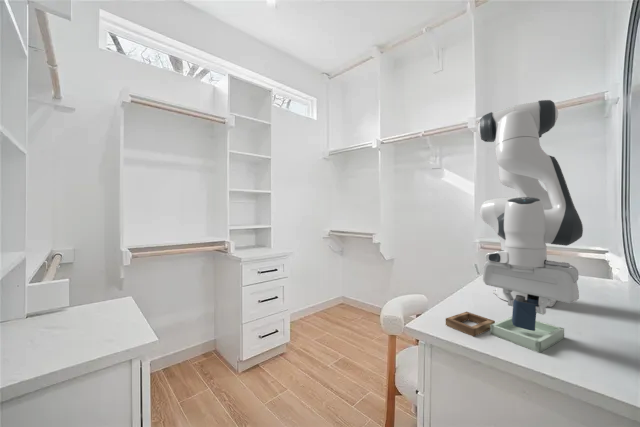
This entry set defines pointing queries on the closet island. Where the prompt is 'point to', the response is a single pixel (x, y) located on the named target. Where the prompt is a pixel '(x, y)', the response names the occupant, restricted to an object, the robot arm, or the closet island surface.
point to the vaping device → (525, 311)
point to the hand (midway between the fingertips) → (526, 309)
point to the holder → (470, 330)
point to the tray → (528, 334)
